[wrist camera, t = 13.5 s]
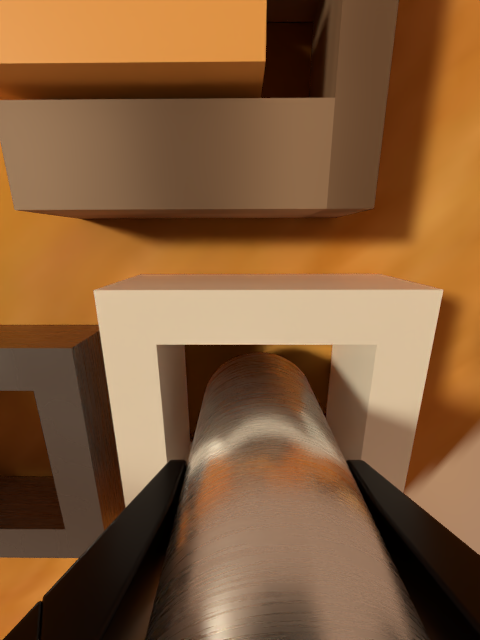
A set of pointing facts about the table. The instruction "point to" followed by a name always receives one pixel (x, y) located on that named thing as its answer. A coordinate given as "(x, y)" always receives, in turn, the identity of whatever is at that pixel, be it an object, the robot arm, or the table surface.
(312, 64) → the key guide
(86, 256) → the table surface
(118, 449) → the frame
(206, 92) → the block
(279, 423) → the peg
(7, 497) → the socket block
